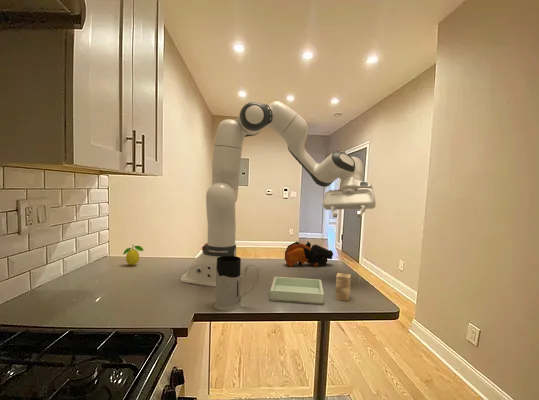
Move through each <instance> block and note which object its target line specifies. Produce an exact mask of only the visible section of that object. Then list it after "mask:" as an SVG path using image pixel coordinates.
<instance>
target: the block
mask: <svg viewBox="0 0 539 400" xmlns="http://www.w3.org/2000/svg"><path fill="white" fill-rule="evenodd" d="M351 281H352V280H351V274H349V273H344V272H343V273H342V272H337V273H336V278H335V294H334V295H335V299H334V300H339V301H346V302H349V301H350V298H351V297H350V296H351Z"/></svg>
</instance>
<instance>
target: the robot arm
mask: <svg viewBox="0 0 539 400" xmlns="http://www.w3.org/2000/svg"><path fill="white" fill-rule="evenodd" d="M265 128H268V129H271V130H273V131H275V132H276V133H277V134H278V135H280V137H282V138H283V140H284V141H285V143H286V144H287V149H288V151H289V153H290V154H291V155H292V157H293V158H294V159H295V160H296V161H297V162H298V163H299V164H300V166H301V167H302V168H303V169H304V170H305V171H306V172H307V173H308V174H309V176H310V177H311V178H312V181H314V184H316V185H318V186H320V187H323V188H327V187H329V186H330V185H332V184H333V183H334V182H335V181H336V180H337V179H339V180H340V183H339V189H334V190H333V189H330V190H328V191H326V192H325V193H324V198H323V201H322V205H323V208H324V209H325V210H326V211H331V213H332V217H333V218H338V212H337V211H339V210H358V211H356V212H357V213H356V214H357V218H362V217H363V214H364V213H365V212H366V210H369V209H370V210H371V209H374V208H376V205H377V204H376V203H377V201H376V197H375V193H374V189H373V185H372V182H367V181H363V178H364V165H363V162H362V160H361V159H360V158H358V157H357V156H350V155H349V154H347V153H346V152H343V151H338V150H335V151H334V152H332V153H331V154H329V155H328V156H327V157H326V158H325V159H324V160H323V161H322V162H320V163H318V162H316V161H315V159H314V158H313V157H312V156H311V155H310V154H309V153H308V152H307V150H306V147H305V146H306V145H305V143H306V140H307V137H308V135H309V125H308V123H307V121H306V120H305V119H304V117H302V116H301V115H300V114H299V113H298V112H296V110H294V109H293V108H291V107H289V106H288V105H287V104H285V103H283V102H281V101H279V100H275V101H272V102H271V103H269V104H266V103H260V102H256V101H251V102H248V103H246V104H245V105H243V107H241V109H240V112H239V115H238V116H237V117H236V118H235V119H230V118H228V119H223V120H222V121H220V122H219V123H218V127H217V130H216V134H215V137H214V142H213V152H212V153H213V154H212V159H211V160H212V161H211V185H210V187H208V189H207V191H206V193H205V199H206V201H205V204H206V206H205V207H206V219H207V242H206V243H205V244H204V245H202V247H201V251H202V253H201V254H200V255H199V256H197V257H196V258H195V259H193V260H192V261H191V262H190V263H189V264H188V267H187V270H186V271H187V272H185V273H184V274H183V275H181V276H180V281H181V283H187V284H193V285H201V286H208V287H216V265H217V258H218V257H221V256H236V257H237V244H236V232H237V231H236V230H237V229H236V228H237V227H236V226H237V225H236V224H237V223H236V203H237V201H238V197H239V182H240V172H241V171H240V170H241V159H242V153H243V142H244V139H245V138H247V137H253V136H256V135H258V134H259V133H260V132H261V131H263V130H264V129H265Z"/></svg>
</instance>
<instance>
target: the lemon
mask: <svg viewBox="0 0 539 400" xmlns="http://www.w3.org/2000/svg"><path fill="white" fill-rule="evenodd" d="M139 251H140V252H143V251H145V250H144V248H143V247H142V246H140V245H134V244H132V247H128V248H125V249H124V251H123V253H122V254H123V255H125V261H126V263H127V264H128V265H130V266H132V267H133V266H134V265H136V264H138V263H139V260H140V254H139Z"/></svg>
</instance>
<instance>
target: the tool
mask: <svg viewBox="0 0 539 400" xmlns="http://www.w3.org/2000/svg"><path fill="white" fill-rule="evenodd" d="M333 256H334V252H333V251H332V250H329V249H327V248H325V247H323V246H320V245H318V244H311V243H310V241H307V242H306V243H305V244H303V243H301V242H299V241H298V240H297V241H295V242H293V243H291V244H289V245H288V246H287V247H286V249H285V251H284V260H285V263H286V265H287V266H288V267H293V265H294V264H296V265H297V264H298V265H299V266H302V265H303V264H305V263H307V264H309V265H312V266H314V267H317V266H318V265H323V266H327V263H328V260H333Z"/></svg>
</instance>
